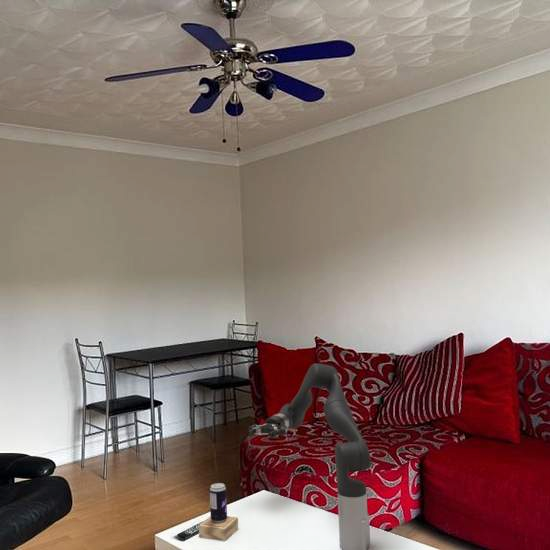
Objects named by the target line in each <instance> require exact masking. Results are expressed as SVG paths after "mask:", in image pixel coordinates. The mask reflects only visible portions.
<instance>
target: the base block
mask: <svg viewBox="0 0 550 550" xmlns="http://www.w3.org/2000/svg"><path fill="white" fill-rule="evenodd" d="M238 530H239V517H236V516H229V515H227V518H226V519H225V521H224V522H220V523H216V522H213V520H211V515H210V516H209V517H208V518H206V519H205V520H203V521H202V522H201V523H200V524H198V537H199V538H202V537H204V539H210V540H215V541H216V540H217V541H223V542H225V541H227V540H228V539H229V538H230V537H231V536H232V535H234V534H235V533H236V531H238Z"/></svg>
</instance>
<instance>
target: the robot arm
mask: <svg viewBox="0 0 550 550" xmlns="http://www.w3.org/2000/svg"><path fill="white" fill-rule="evenodd" d="M312 388H317V389H323V390H327V392H328V396H327V398H326V400H325V402H324V405H323V414H324V416H325V419H326V423H327V424H328V426H329V427H330V428H331V429H332V430H333V432H335V433H337V434H339V435H340V436H341V437H342V438H344V439H345V440H346V442H339V443H337V444H336V445H335V449H334V459H335V471H336V472H335V473H336V484H337V509H338V510H337V511H338V534H339V548H340V549H341V550H368V549H369V547H370V545H371V535H370V533H371V532H370V528H371V527H370V514H369V513H368V502H367V501H368V499H367V485H366V483H365V482H364V481H362V480H360V479H357V478H353V477H351V476H350V475H349V473H355V472H363V471H367V470H369V469H370V467H371V464H372V458H371V453H370V450H369V447H368V445H367V443H366V441H365V438H364V437H363V436H362V434H361V431H360V430H359V428H358V426H357V424H356V421H355V419H354V418H355V417H354V416H353V413H352V411H351V408H350V406H349V403H348V401H347V398H346V395H345V393H344V390H343V387H342V384H341V380H340V376H339V373H338V370H337V369H336V367H334V366H332V365H329V364H324V363H313V364H311V365H310V367H309V368H308V370H307V372H306V374H305V376H304V378H303V380H302V383H301V385H300V388H299V390H298V392H297V393H296V395H295V396H294V398H293V399H292V400H291V402H290V403H286V404H284V405H283V406H282V407H281V409H280V410H279V412H278V413H277V414H276V413H275V414H274V415H271V417H268V418H267V419H266V420H264V423H263V424H259V425H258V423H255V424H252V425H251V426H249V427H248V436H249V437H250V438H251V437H253V436H255V435H258V436H264V435H268V436H269V437H270V438H269V439H274V438H275V437H276V438H277V437H279V436H280V437H284V436H285V435H287V434H288V429H289V428H291V429H297V428H299V427H300V426H301V425H302V424H303V421H304V419H305V415H306V412H307V410H308V409H309V408H310V407H311V406H312V403H313V393H312V390H311V389H312Z"/></svg>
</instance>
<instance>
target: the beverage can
mask: <svg viewBox="0 0 550 550" xmlns="http://www.w3.org/2000/svg"><path fill="white" fill-rule="evenodd" d="M209 507H210V508H209V509H210V516H211V520H213V522H216V523H220V522H224V521H225V519H226V518H227V516H228V504H227V487H226V485H225V484H224V483H222V482H217V483H216V482H215V483H212V484H211V485H210V488H209Z"/></svg>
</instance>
